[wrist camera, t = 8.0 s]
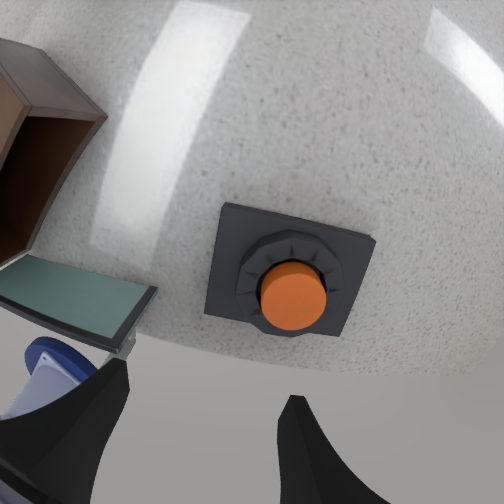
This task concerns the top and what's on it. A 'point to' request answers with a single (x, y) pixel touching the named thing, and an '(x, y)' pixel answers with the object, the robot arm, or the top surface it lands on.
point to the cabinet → (36, 140)
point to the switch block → (275, 253)
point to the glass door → (76, 303)
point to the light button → (292, 296)
